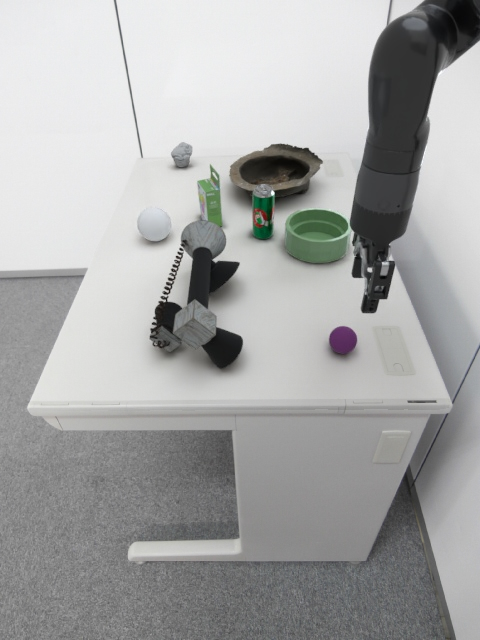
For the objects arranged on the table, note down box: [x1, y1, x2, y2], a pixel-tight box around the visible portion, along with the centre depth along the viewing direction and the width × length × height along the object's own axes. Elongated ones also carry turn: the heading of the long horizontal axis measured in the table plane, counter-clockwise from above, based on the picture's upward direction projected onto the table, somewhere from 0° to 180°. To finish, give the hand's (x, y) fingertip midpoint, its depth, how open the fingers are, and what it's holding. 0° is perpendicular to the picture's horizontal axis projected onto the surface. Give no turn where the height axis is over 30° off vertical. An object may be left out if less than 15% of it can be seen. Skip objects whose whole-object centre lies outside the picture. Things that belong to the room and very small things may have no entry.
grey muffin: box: [170, 141, 193, 168], centre depth 134 cm, size 6×7×7 cm
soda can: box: [251, 184, 276, 240], centre depth 102 cm, size 5×5×12 cm
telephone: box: [149, 219, 244, 369], centre depth 82 cm, size 15×13×30 cm
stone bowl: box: [228, 143, 324, 198], centre depth 120 cm, size 25×25×9 cm
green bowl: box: [283, 207, 353, 264], centre depth 100 cm, size 15×15×6 cm
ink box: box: [196, 163, 223, 227], centre depth 107 cm, size 7×4×13 cm, turn 20°
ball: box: [136, 206, 172, 242], centre depth 104 cm, size 8×8×8 cm
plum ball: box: [328, 325, 358, 355], centre depth 77 cm, size 5×5×5 cm
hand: (362, 293), depth 68 cm, fingers open, 8 cm apart
